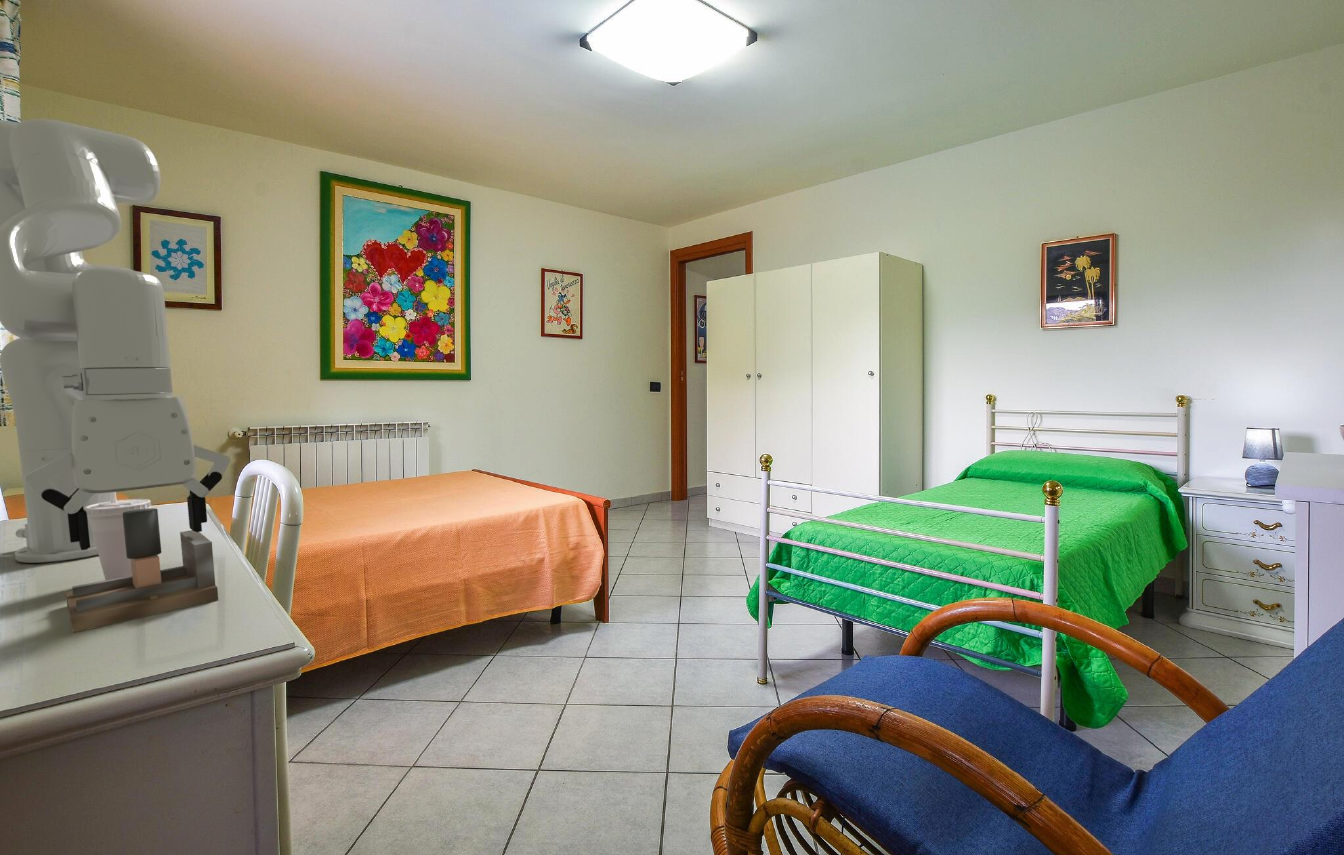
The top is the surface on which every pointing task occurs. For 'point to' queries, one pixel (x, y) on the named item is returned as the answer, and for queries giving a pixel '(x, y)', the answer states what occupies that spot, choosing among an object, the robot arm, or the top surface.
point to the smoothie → (112, 533)
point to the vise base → (147, 590)
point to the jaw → (143, 545)
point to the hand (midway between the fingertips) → (143, 538)
